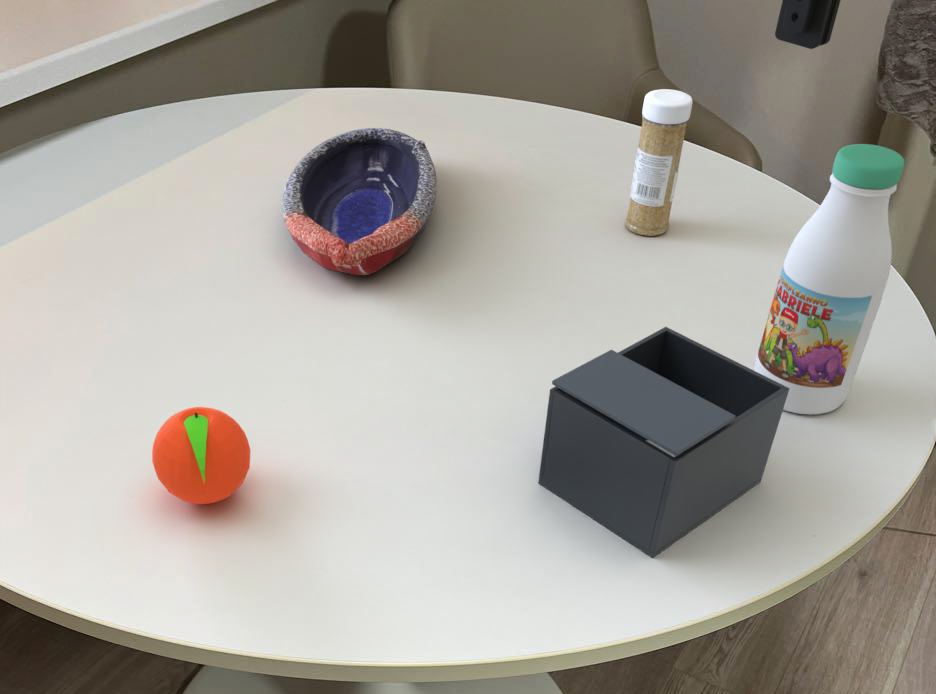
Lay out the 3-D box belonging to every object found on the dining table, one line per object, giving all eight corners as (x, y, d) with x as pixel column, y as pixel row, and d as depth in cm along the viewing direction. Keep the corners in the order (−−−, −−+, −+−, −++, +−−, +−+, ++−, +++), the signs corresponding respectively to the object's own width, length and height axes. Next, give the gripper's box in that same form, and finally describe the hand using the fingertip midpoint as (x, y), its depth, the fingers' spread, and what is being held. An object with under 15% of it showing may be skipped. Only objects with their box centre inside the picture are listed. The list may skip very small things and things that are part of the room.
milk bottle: (780, 355, 92) (848, 124, 79) (862, 391, 88) (949, 155, 74) (732, 389, 88) (794, 153, 74) (816, 429, 84) (898, 187, 70)
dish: (448, 167, 121) (450, 123, 117) (417, 302, 98) (418, 252, 95) (315, 159, 122) (313, 115, 119) (254, 290, 100) (249, 240, 96)
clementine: (261, 526, 75) (253, 446, 70) (162, 540, 74) (147, 459, 69) (249, 458, 81) (240, 380, 76) (157, 470, 79) (142, 391, 75)
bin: (652, 558, 73) (675, 462, 67) (537, 483, 79) (549, 389, 73) (760, 481, 79) (789, 388, 73) (646, 417, 85) (665, 326, 79)
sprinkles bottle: (676, 227, 110) (703, 96, 101) (650, 241, 108) (675, 108, 98) (640, 213, 112) (663, 83, 103) (614, 227, 110) (635, 95, 101)
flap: (676, 456, 67) (677, 452, 67) (551, 384, 73) (552, 380, 73) (735, 419, 70) (736, 415, 70) (610, 352, 76) (611, 349, 76)
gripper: (879, -298, 53) (785, 82, 65) (1018, -311, 60) (910, 32, 72) (752, -308, 57) (686, 51, 69) (896, -319, 64) (814, 7, 76)
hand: (801, 41), depth 71 cm, fingers closed
